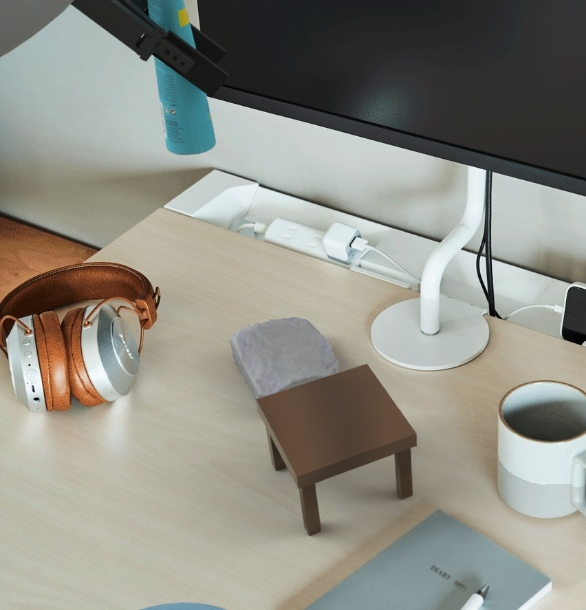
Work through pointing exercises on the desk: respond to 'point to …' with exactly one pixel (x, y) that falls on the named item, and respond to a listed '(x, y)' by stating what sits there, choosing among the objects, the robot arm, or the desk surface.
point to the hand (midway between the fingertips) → (218, 73)
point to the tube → (180, 89)
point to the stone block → (282, 355)
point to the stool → (336, 433)
